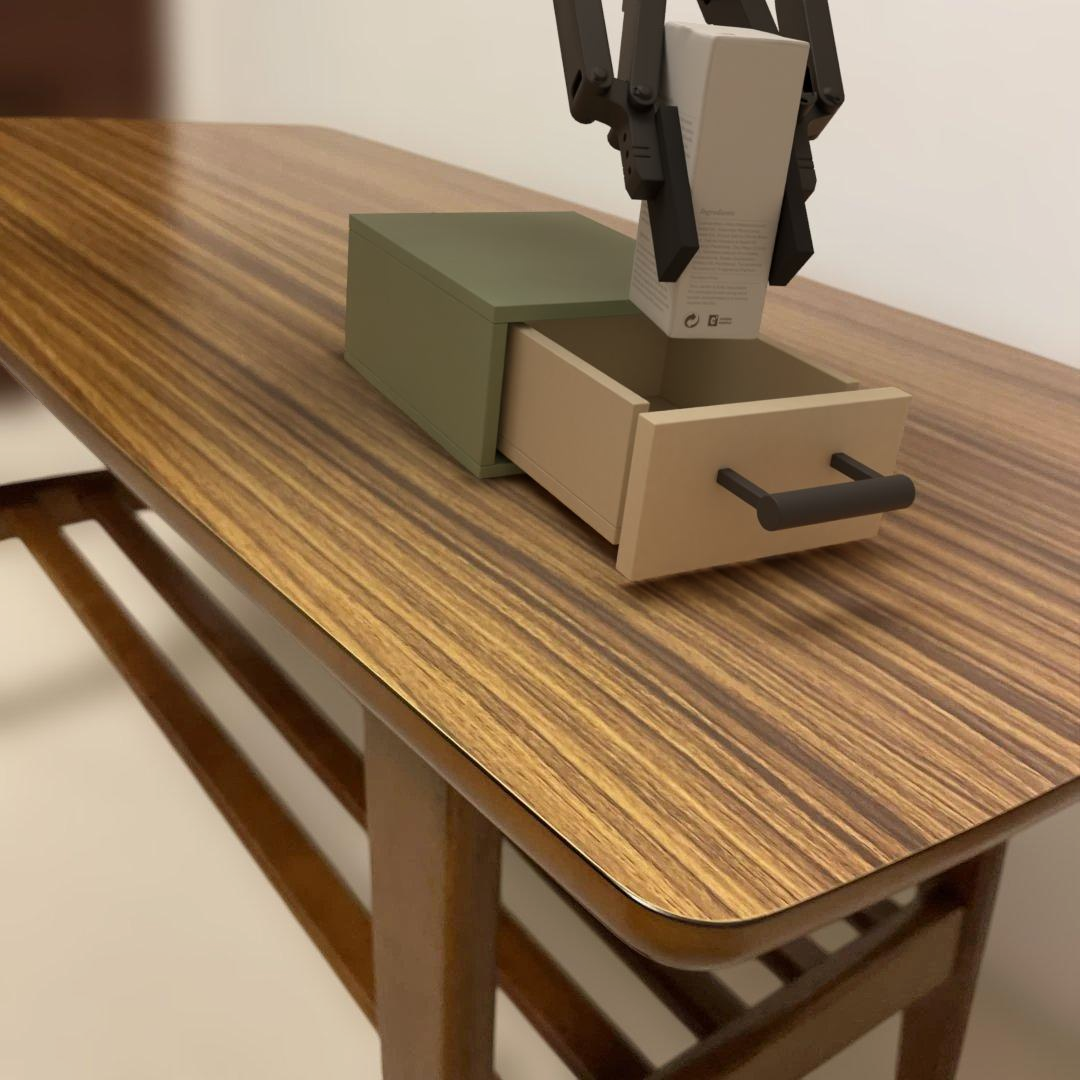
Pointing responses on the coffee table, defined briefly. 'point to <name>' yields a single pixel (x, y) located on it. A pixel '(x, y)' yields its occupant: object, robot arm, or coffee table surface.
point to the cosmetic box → (724, 175)
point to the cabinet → (469, 308)
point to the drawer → (698, 441)
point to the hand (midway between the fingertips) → (735, 266)
